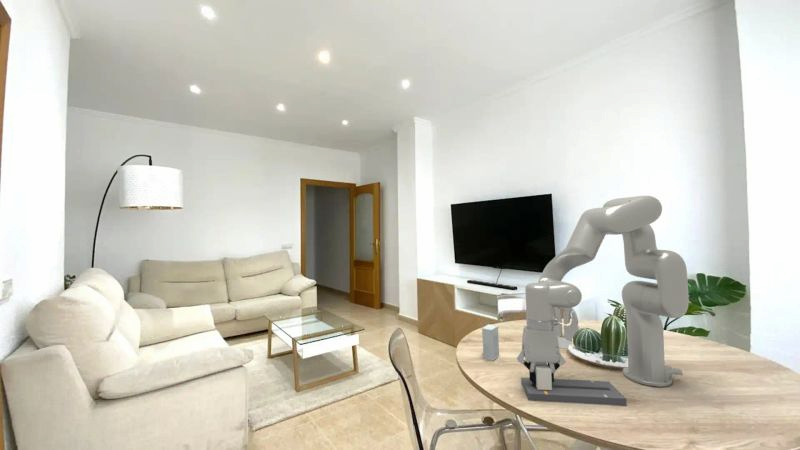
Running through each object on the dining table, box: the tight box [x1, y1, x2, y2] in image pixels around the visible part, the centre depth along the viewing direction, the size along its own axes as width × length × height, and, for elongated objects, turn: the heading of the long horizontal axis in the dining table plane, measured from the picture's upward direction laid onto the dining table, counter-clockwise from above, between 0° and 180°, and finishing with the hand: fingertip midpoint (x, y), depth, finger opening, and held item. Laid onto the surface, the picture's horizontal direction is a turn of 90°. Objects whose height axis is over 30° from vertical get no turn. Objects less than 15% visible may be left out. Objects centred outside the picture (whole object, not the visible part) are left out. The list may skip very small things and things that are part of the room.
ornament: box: [553, 307, 581, 350], centre depth 137 cm, size 22×13×17 cm, turn 18°
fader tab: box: [534, 362, 552, 390], centre depth 95 cm, size 4×6×6 cm
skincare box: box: [481, 323, 500, 362], centre depth 122 cm, size 6×4×12 cm
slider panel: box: [520, 376, 628, 407], centre depth 94 cm, size 26×10×2 cm, turn 81°
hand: (541, 383), depth 95 cm, fingers closed on fader tab, 4 cm apart
